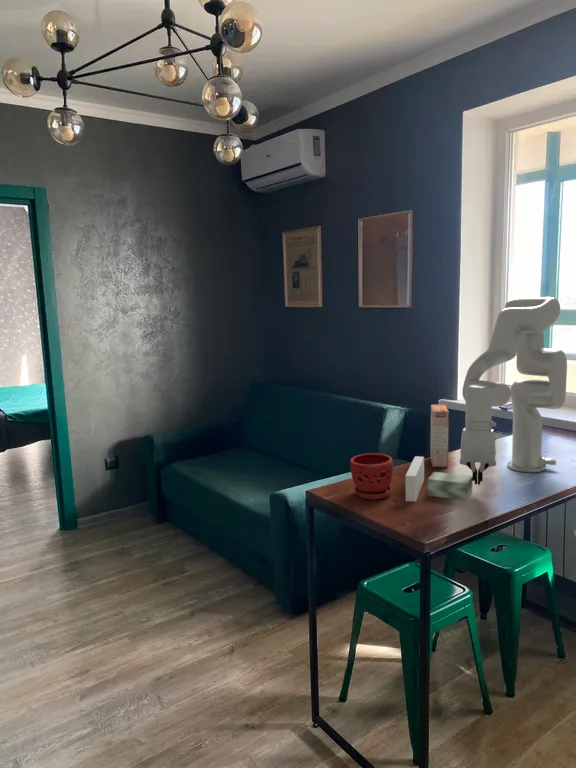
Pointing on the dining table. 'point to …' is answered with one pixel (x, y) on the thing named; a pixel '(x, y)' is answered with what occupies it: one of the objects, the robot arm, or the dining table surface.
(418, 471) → the board
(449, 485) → the block
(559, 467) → the dining table surface
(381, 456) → the plant pot
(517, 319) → the robot arm
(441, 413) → the cracker box
